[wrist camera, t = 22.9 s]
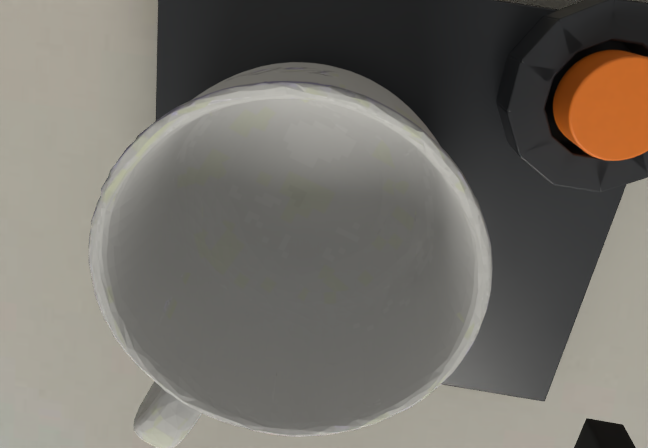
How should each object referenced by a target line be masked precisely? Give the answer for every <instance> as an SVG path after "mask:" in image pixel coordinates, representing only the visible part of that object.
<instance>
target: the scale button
mask: <svg viewBox="0 0 648 448" xmlns="http://www.w3.org/2000/svg"><path fill="white" fill-rule="evenodd" d="M553 114H554V119H555V122H556V124H557V126H558V128H559V130H560V131H561V132H562V134H563V135H564V136H565V137H566V138H568V139H569V140H570V141H572V142H573V143H574V144H575V145H577V146H578V147H579V148H580V149H582V150H583V151H584V152H586V153H587V154H589V155H591V156H593V157H595V158H598V159H602V160H608V161H619V160H626V159H630V158H633V157H636V156H639V155H641V154H643V153H645V152H647V151H648V57H646V56H642V55H638V54H634V53H630V52H626V51H622V50H603V51H599V52H595V53H592V54H590V55H588V56H586V57H584V58H582V59H581V60H579V61H578V62H576V63H575V64H574V65H573V66H572V67H571V68H570V69H569V70H568V71H567V72H566V73H565V74H564V76H563V77H562V79H561V80H560V82H559V84H558V86H557V89H556V91H555V95H554V99H553Z"/></svg>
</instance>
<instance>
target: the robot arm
mask: <svg viewBox="0 0 648 448" xmlns="http://www.w3.org/2000/svg"><path fill="white" fill-rule="evenodd" d="M574 448H635V446H634V444H633V442H632V440H631V438H630V437H629V435H628V433H627V431H626V429H625V428H624V426H623V425H621V424H616V423H610V422H604V421H599V420H593V419H586V421H585V423H584V426H583V428H582V430H581V433H580V435H579V438H578V440H577V442H576V445H575V447H574Z"/></svg>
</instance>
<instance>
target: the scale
mask: <svg viewBox="0 0 648 448" xmlns="http://www.w3.org/2000/svg"><path fill="white" fill-rule="evenodd" d="M603 50H622V51H626V52H630V53H634V54H638V55H642V56H646V57H648V3H645V2H638V1H631V0H583V1H581V2H578V3H575V4H573V5H570V6H568V7H565V8H563V9H560V10H557V9H550V8H544V7H537V6H531V5H524V4H518V3H511V2H505V1H498V0H158V39H157V89H156V121H157V120H158V119H160V118H161V117H162V116H164V115H165V114H167V113H168V112H170V111H171V110H173V109H174V108H176V107H178V106H180V105H182V104H184V103H186V102H189V101H191V100H192V99H194V98H195V97H196V96H198V95H199V94H201V93H202V92H204V91H205V90H207V89H209V88H210V87H212V86H214V85H216V84H218V83H219V82H221V81H223V80H225V79H227V78H230V77H232V76H234V75H236V74H239V73H241V72H245V71H248V70H251V69H254V68H258V67H261V66H266V65H271V64H277V63H289V62H303V63H316V64H324V65H329V66H333V67H337V68H341V69H345V70H348V71H351V72H354V73H356V74H359V75H361V76H363V77H366V78H368V79H370V80H372V81H374V82H375V83H377V84H379V85H380V86H382V87H384V88H385V89H387V90H388V91H390V92H391V93H392V94H394V95H395V96H397V97H398V98H399V99H400V100H402V101H403V102H404V103H405V104H406V105H407V106H408V107H409V108H410V109H411V110H412V111H413V112H414V113H415V114H416V115H417V116H418V117H419V118H420V119H421V121H422V122H423V123H424V124H425V125H426V126H427V128H428V129H429V130H430V132H431V133H432V134H433V136H434V137H435V139H436V140H437V142H438V143H439V145H440V146H441V148H442V149H443V150H444V151H445V152H446V153H447V154H448V155H449V156H450V158H451V159H452V160H453V161H454V163H455V164H456V165H457V167H458V168H459V169H460V171H461V172H462V173H463V175H464V177H465V179H466V180H467V182H468V184H469V186H470V188H471V190H472V192H473V194H474V196H475V197H476V199H477V200H478V203H479V205H480V208H481V211H482V214H483V217H484V220H485V223H486V226H487V230H488V234H489V238H490V242H491V247H492V265H493V270H492V283H491V293H490V298H489V303H488V308H487V310H486V313H485V316H484V318H483V321H482V324H481V327H480V329H479V333H478V335H477V337H476V339H475V341H474V342H473V344H472V346H471V348H470V349H469V351H468V352H467V354H466V355H465V357H464V358H463V360H462V361H461V363H460V364H459V365H458V367H457V368H456V369H455V371H454V372H453V373H452V374H451V375H450V376H449V377H448V378H447V379H446V380H445V381H444V382H443V383H442V384H443V385H449V386H455V387H461V388H467V389H473V390H479V391H485V392H491V393H497V394H503V395H509V396H515V397H521V398H527V399H533V400H539V401H545V399H546V396H547V394H548V391H549V388H550V386H551V383H552V380H553V378H554V375H555V373H556V370H557V367H558V365H559V362H560V359H561V357H562V354H563V351H564V349H565V346H566V343H567V341H568V338H569V335H570V333H571V330H572V327H573V325H574V322H575V319H576V317H577V314H578V311H579V309H580V306H581V303H582V301H583V298H584V295H585V293H586V290H587V287H588V285H589V282H590V280H591V277H592V274H593V272H594V269H595V266H596V264H597V261H598V258H599V256H600V253H601V250H602V248H603V245H604V242H605V240H606V237H607V234H608V232H609V229H610V226H611V224H612V221H613V218H614V216H615V213H616V210H617V208H618V205H619V202H620V200H621V197H622V194H623V192H624V189H625V186H626V184H628V183H631V182H634V181H638V180H641V179H644V178H647V177H648V151H647V152H645V153H643V154H641V155H639V156H636V157H633V158H630V159H626V160H619V161H608V160H602V159H598V158H595V157H593V156H591V155H589V154H587V153H586V152H584V151H583V150H582V149H580V148H579V147H578V146H577V145H575V144H574V143H573V142H572V141H570V140H569V139H568V138H566V137H565V136H564V135H563V134H562V132H561V131H560V130H559V128H558V126H557V124H556V122H555V119H554V114H553V99H554V95H555V91H556V89H557V86H558V84H559V82H560V80H561V79H562V77H563V76H564V74H565V73H566V72H567V71H568V70H569V69H570V68H571V67H572V66H573V65H574V64H575V63H576V62H578V61H579V60H581V59H582V58H584V57H586V56H588V55H590V54H592V53H595V52H599V51H603Z"/></svg>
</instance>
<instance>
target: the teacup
mask: <svg viewBox="0 0 648 448" xmlns="http://www.w3.org/2000/svg"><path fill="white" fill-rule="evenodd" d="M91 225H92V228H91V231H90V237H89V267H90V272H91V277H92V282H93V287H94V292H95V296H96V299H97V302H98V304H99V307H100V310H101V312H102V315H103V317H104V320H105V321H106V323H107V324H108V326H109V328H110V330H111V332H112V334H113V336H114V337H115V339H116V340H117V341H118V343H119V344H120V346H121V347H122V348H123V350H124V351H125V352H126V353H127V355H128V356H129V357H130V358H131V359H132V360H133V361H134V363H135V364H136V365H137V366H138V367H139V368H140V369H142V370H143V371H144V372H145V373H146V374H147V375H148V376H149V377H150V378H151V379H152V380H153V381H154V383H153V385H152V386H151V388H150V390H149V391H148V393H147V395H146V397H145V398H144V400H143V402H142V403H141V405H140V407H139V409H138V412H137V414H136V417H135V420H134V431H135V432H136V434H137V435H138V436H139V437H140V438H141V439H142V440H143V441H145V442H146V443H148V444H150V445H152V446H154V447H157V448H173V447H175V446H176V445H178V444H179V443H180V442H181V441H182V440H183V439H184V438H185V436H186V435H187V434H188V433H189V432H190V430H191V429H192V428H193V426H194V425H195V423H196V422H197V421H198V419H199V418H200V416H201V415H202V414H205V415H207V416H209V417H211V418H213V419H216V420H219V421H222V422H225V423H228V424H231V425H234V426H239V427H244V428H247V429H250V430H253V431H257V432H263V433H268V434H274V435H279V436H321V435H329V434H336V433H341V432H346V431H352V430H357V429H360V428H362V427H366V426H369V425H372V424H375V423H378V422H380V421H383V420H385V419H388V418H390V417H391V416H393V415H395V414H397V413H399V412H401V411H404V410H406V409H408V408H410V407H412V406H414V405H415V404H416V403H418V402H419V401H421V400H422V399H424V398H425V397H427V396H428V395H429V394H430V393H431V392H433V391H434V390H435V389H436V388H437V387H438V386H439V385H441V384H442V383H443V382H444V381H445V380H446V379H447V378H448V377H449V376H450V375H451V374H452V373H453V372H454V371H455V369H456V368H457V367H458V365H459V364H460V363H461V361H462V360H463V358H464V357H465V355H466V354H467V352H468V351H469V349H470V348H471V346H472V344H473V342H474V341H475V339H476V337H477V335H478V333H479V329H480V327H481V324H482V321H483V318H484V316H485V313H486V310H487V308H488V303H489V298H490V293H491V283H492V270H493V265H492V247H491V242H490V238H489V234H488V230H487V226H486V223H485V220H484V217H483V214H482V211H481V208H480V205H479V203H478V200H477V199H476V197H475V196H474V194H473V192H472V190H471V188H470V186H469V184H468V182H467V180H466V179H465V177H464V175H463V173H462V172H461V171H460V169H459V168H458V167H457V165H456V164H455V163H454V161H453V160H452V159H451V158H450V156H449V155H448V154H447V153H446V152H445V151H444V150H443V149H442V148H441V146H440V145H439V143H438V142H437V140H436V139H435V137H434V136H433V134H432V133H431V132H430V130H429V129H428V128H427V126H426V125H425V124H424V123H423V122H422V121H421V119H420V118H419V117H418V116H417V115H416V114H415V113H414V112H413V111H412V110H411V109H410V108H409V107H408V106H407V105H406V104H405V103H404V102H403V101H402V100H400V99H399V98H398V97H397V96H395V95H394V94H392V93H391V92H390V91H388V90H387V89H385V88H384V87H382V86H380V85H379V84H377V83H375V82H374V81H372V80H370V79H368V78H366V77H363V76H361V75H359V74H356V73H354V72H351V71H348V70H345V69H341V68H337V67H333V66H329V65H324V64H316V63H303V62H289V63H277V64H271V65H266V66H261V67H258V68H254V69H251V70H248V71H245V72H241V73H239V74H236V75H234V76H232V77H230V78H227V79H225V80H223V81H221V82H219V83H218V84H216V85H214V86H212V87H210V88H209V89H207V90H205V91H204V92H202V93H201V94H199V95H198V96H196V97H195V98H194V99H192V100H191V101H189V102H186V103H184V104H182V105H180V106H178V107H176V108H174V109H173V110H171V111H170V112H168V113H167V114H165V115H164V116H162V117H161V118H160V119H158V120H157V121H156V122H154V123H153V124H152V125H150V126H149V127H148V128H147V129H146V130H144V131H143V132H142V133H141V134H139V135H138V136H137V138H136V140H135V141H134V142H133V143H132V144H131V145H130V146H129V147H128V148H127V149H126V150H125V151H124V153H123V154H122V156H121V157H120V158H119V160H118V161H117V163H116V164H115V165H114V166H113V168H112V169H111V170H110V173H109V176H108V178H107V180H106V181H105V183H104V185H103V187H102V188H101V196H100V198H99V200H98V202H97V206H96V209H95V212H94V215H93V218H92V221H91Z"/></svg>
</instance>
